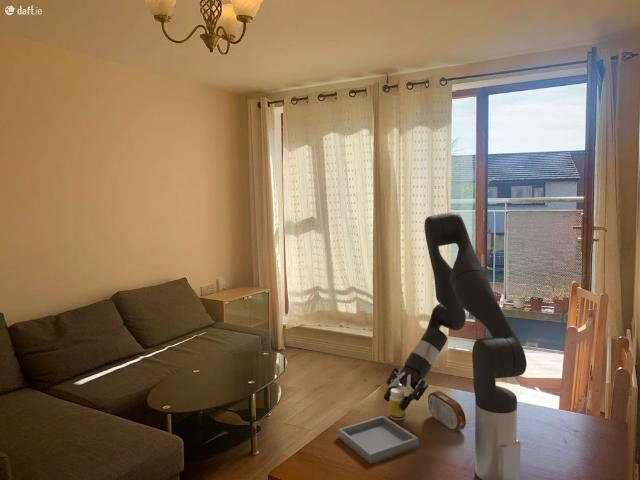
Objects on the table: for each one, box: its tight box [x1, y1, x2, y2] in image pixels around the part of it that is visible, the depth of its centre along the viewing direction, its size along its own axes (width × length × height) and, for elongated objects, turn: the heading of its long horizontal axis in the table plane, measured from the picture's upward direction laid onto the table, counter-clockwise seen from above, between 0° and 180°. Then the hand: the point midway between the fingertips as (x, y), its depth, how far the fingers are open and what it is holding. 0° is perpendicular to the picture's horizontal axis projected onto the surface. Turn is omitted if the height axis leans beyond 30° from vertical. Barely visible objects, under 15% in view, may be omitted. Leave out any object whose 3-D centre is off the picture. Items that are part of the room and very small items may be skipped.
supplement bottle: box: [389, 388, 406, 421], centre depth 144 cm, size 5×5×8 cm
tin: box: [427, 390, 467, 432], centre depth 138 cm, size 15×3×8 cm, turn 22°
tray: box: [337, 415, 420, 465], centre depth 129 cm, size 16×16×2 cm
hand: (393, 404), depth 143 cm, fingers open, 6 cm apart
